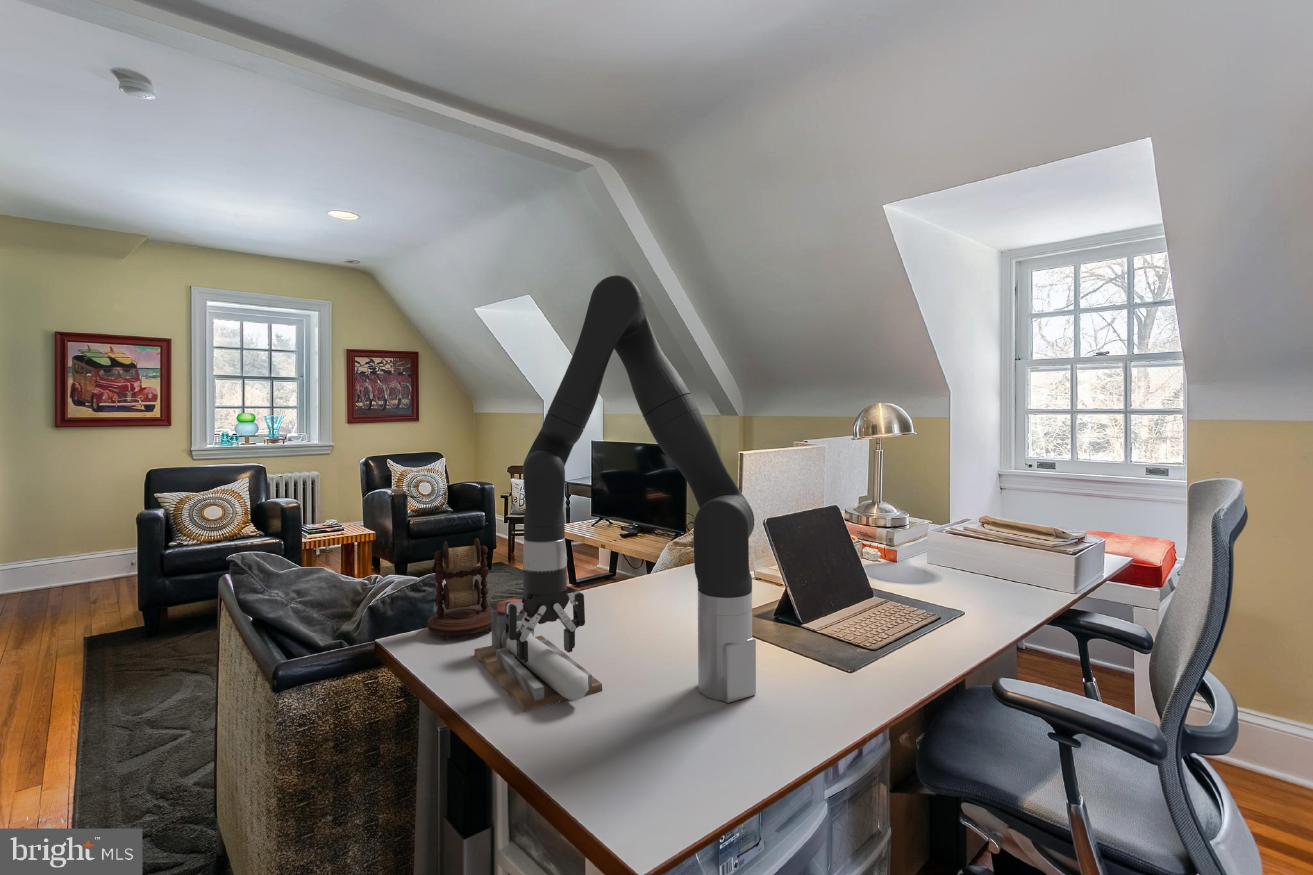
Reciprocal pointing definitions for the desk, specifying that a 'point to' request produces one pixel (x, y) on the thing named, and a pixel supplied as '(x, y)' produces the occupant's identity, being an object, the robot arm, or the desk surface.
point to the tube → (553, 669)
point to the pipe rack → (522, 666)
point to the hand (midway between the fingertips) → (546, 655)
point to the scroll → (461, 592)
